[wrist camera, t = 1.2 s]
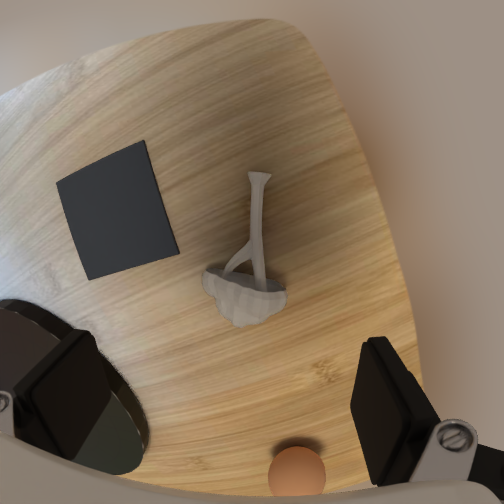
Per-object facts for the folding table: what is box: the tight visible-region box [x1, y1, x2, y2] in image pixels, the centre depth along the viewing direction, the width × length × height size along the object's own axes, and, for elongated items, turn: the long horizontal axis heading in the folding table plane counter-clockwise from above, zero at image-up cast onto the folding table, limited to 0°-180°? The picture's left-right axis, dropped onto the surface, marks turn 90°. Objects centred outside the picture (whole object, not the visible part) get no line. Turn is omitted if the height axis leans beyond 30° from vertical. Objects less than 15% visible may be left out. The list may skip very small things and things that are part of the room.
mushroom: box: [202, 171, 288, 328], centre depth 23 cm, size 7×5×12 cm
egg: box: [268, 446, 326, 496], centre depth 27 cm, size 7×7×9 cm
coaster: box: [56, 140, 179, 280], centre depth 24 cm, size 10×10×1 cm
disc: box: [0, 300, 149, 475], centre depth 30 cm, size 30×30×3 cm
